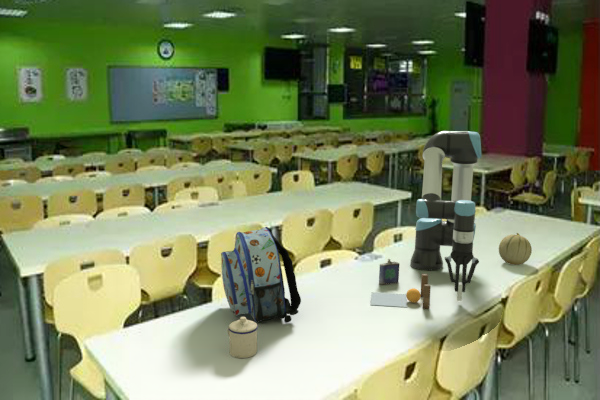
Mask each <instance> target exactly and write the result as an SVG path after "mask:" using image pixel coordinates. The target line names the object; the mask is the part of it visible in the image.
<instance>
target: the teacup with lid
mask: <svg viewBox="0 0 600 400" xmlns="http://www.w3.org/2000/svg"><path fill="white" fill-rule="evenodd" d="M227 335H228V337H229V339H228V340H229V354H230V355H231V356H232V357H233V358H236V359H247V358H251V357H254V356H255V355H256V354H257V352H258V323H256V322H255V320H254V321H253V320H250V319H247V317H246V316H240V317H239V319H237V320H234V321H232V322H231V323H230V324H229V325H228V327H227Z"/></svg>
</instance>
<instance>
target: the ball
mask: <svg viewBox="0 0 600 400" xmlns="http://www.w3.org/2000/svg"><path fill="white" fill-rule="evenodd" d="M405 294H406V298H407V301H409V302H410V303H417V302H419V301H420V300H421V298H422V297H421V291H420V290H419V289H417V288H413V287H412V288H409V289H408V290H407V292H406V293H405Z"/></svg>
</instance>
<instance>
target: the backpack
mask: <svg viewBox="0 0 600 400" xmlns="http://www.w3.org/2000/svg"><path fill="white" fill-rule="evenodd" d="M220 256H221V258H220V260H221V264H220V265H221V278H222V284H223V285H222V286H223V289H224V294H225V298H226V300H227V302H228V306H229V307H230V310H231V311H232V313H233V315H234V316H235V317H238V316H240V315H242V314H243V315H248V314H250V316H251V317H252V318H253V320H254V322H255V323H256V324H258V323H261V321H267V320H272V319H275V318H279V319H281V320H283V319H284V320H283V321H284V323H285V324H286V323H290V322H291V321H292V316H295V315H297V314H298V313H299V310H298V309H299V307H300V304H301V302H302V297H301V295H300V293H299V290H298V286H297V280H296V279H297V278H296V275H295V274H296V273H295V271H294V266H293V260H292V259H291V257H290V254H289V252H288V250H287V249H286V248H285V247H284V246H283V245H282V244H281V243H280V242H279V240H278V238H277V237H275V236H274V233H273V231H272V229H271V228H269V227H268V226H264V227H262V228H260V229H256V230H248V231H245V232H241V231H237V232H236V234H235V241H234V249H233V250H229V251H222V252H221V253H220ZM280 257H281V260H282V263H283V268H284V273H285V277H286V282H287V287H288V291H289V296H290V298H287V297H286V296H285V295H286V292H285V291H286V290H285V285H284V284H285V283H284V278H283V270H282V265H281V264H282V263H281V260H280ZM289 299H290V300H289Z"/></svg>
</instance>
